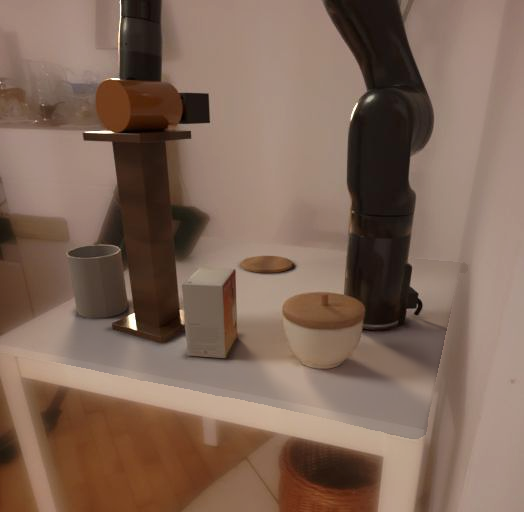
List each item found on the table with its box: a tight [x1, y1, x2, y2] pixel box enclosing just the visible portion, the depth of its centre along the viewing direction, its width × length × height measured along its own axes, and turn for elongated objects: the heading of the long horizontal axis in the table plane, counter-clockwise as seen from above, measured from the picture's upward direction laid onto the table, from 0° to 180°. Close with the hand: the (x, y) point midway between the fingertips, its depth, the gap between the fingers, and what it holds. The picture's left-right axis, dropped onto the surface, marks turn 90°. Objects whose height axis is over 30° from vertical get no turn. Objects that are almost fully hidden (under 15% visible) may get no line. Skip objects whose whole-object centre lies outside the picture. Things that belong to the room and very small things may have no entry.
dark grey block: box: [178, 92, 211, 125], centre depth 72 cm, size 6×4×4 cm
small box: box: [181, 266, 238, 359], centre depth 68 cm, size 8×6×10 cm
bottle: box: [94, 78, 184, 133], centre depth 67 cm, size 17×6×6 cm, turn 149°
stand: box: [82, 129, 192, 344], centre depth 71 cm, size 10×10×28 cm
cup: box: [65, 244, 129, 319], centre depth 81 cm, size 8×8×10 cm
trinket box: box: [281, 291, 365, 370], centre depth 65 cm, size 11×11×9 cm
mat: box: [241, 255, 293, 274], centre depth 106 cm, size 11×11×1 cm
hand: (139, 149), depth 94 cm, fingers open, 8 cm apart
